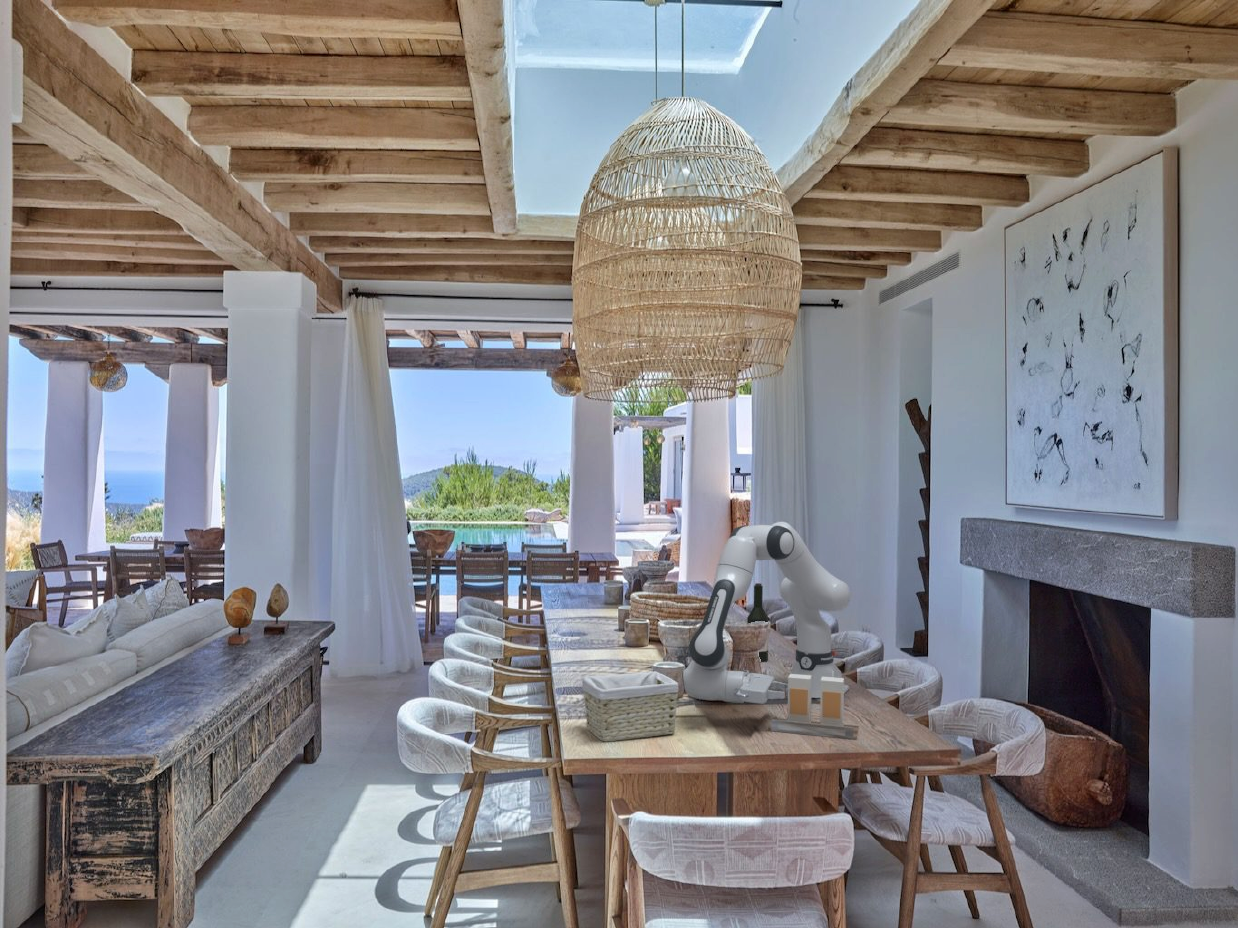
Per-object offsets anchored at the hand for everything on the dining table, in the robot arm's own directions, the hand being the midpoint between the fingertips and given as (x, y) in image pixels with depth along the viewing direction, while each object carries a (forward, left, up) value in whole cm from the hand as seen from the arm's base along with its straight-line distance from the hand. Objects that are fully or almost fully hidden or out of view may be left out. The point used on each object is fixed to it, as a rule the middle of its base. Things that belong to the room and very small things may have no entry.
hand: (786, 691), depth 247 cm
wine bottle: (-80, -53, -11) cm, 97 cm away
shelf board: (-2, +7, -11) cm, 13 cm away
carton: (-4, +12, -10) cm, 16 cm away
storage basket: (+30, -33, -11) cm, 46 cm away
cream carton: (-2, +3, -10) cm, 10 cm away
